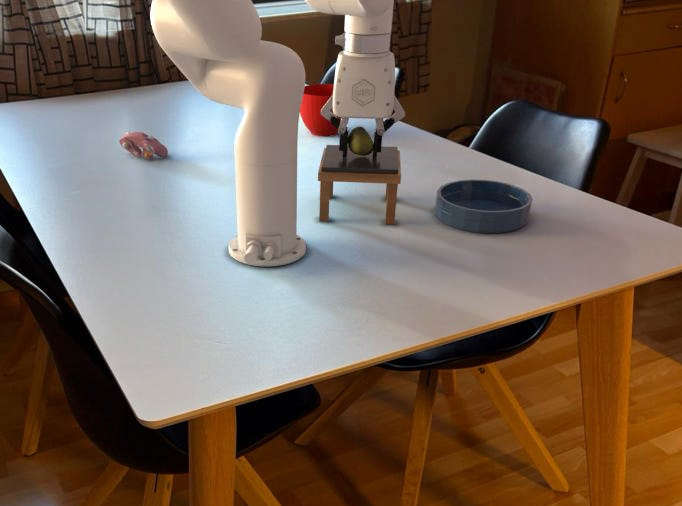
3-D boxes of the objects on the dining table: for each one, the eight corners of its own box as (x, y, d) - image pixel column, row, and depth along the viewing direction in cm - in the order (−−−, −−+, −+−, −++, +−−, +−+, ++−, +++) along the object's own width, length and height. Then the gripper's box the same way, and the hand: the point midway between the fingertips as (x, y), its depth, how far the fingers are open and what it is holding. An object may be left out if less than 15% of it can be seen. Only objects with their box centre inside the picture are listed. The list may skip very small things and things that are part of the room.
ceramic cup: (375, 135, 172) (378, 91, 167) (311, 143, 167) (312, 98, 162) (350, 121, 182) (352, 80, 177) (289, 129, 177) (289, 86, 172)
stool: (396, 225, 126) (401, 170, 120) (316, 222, 127) (318, 167, 122) (395, 197, 137) (400, 146, 132) (322, 194, 139) (324, 143, 134)
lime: (350, 150, 129) (352, 122, 127) (376, 153, 128) (378, 124, 125) (343, 157, 126) (344, 128, 123) (370, 160, 124) (372, 131, 122)
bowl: (535, 236, 121) (539, 214, 119) (437, 232, 123) (440, 210, 121) (520, 201, 135) (524, 181, 133) (432, 198, 137) (434, 177, 134)
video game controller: (125, 161, 162) (112, 137, 156) (135, 147, 164) (123, 123, 158) (161, 168, 158) (150, 143, 152) (171, 153, 160) (160, 128, 154)
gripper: (313, 46, 115) (310, 160, 125) (420, 49, 113) (408, 164, 123) (316, 39, 121) (313, 147, 131) (418, 41, 119) (407, 151, 129)
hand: (359, 154), depth 127 cm, fingers closed on lime, 4 cm apart
